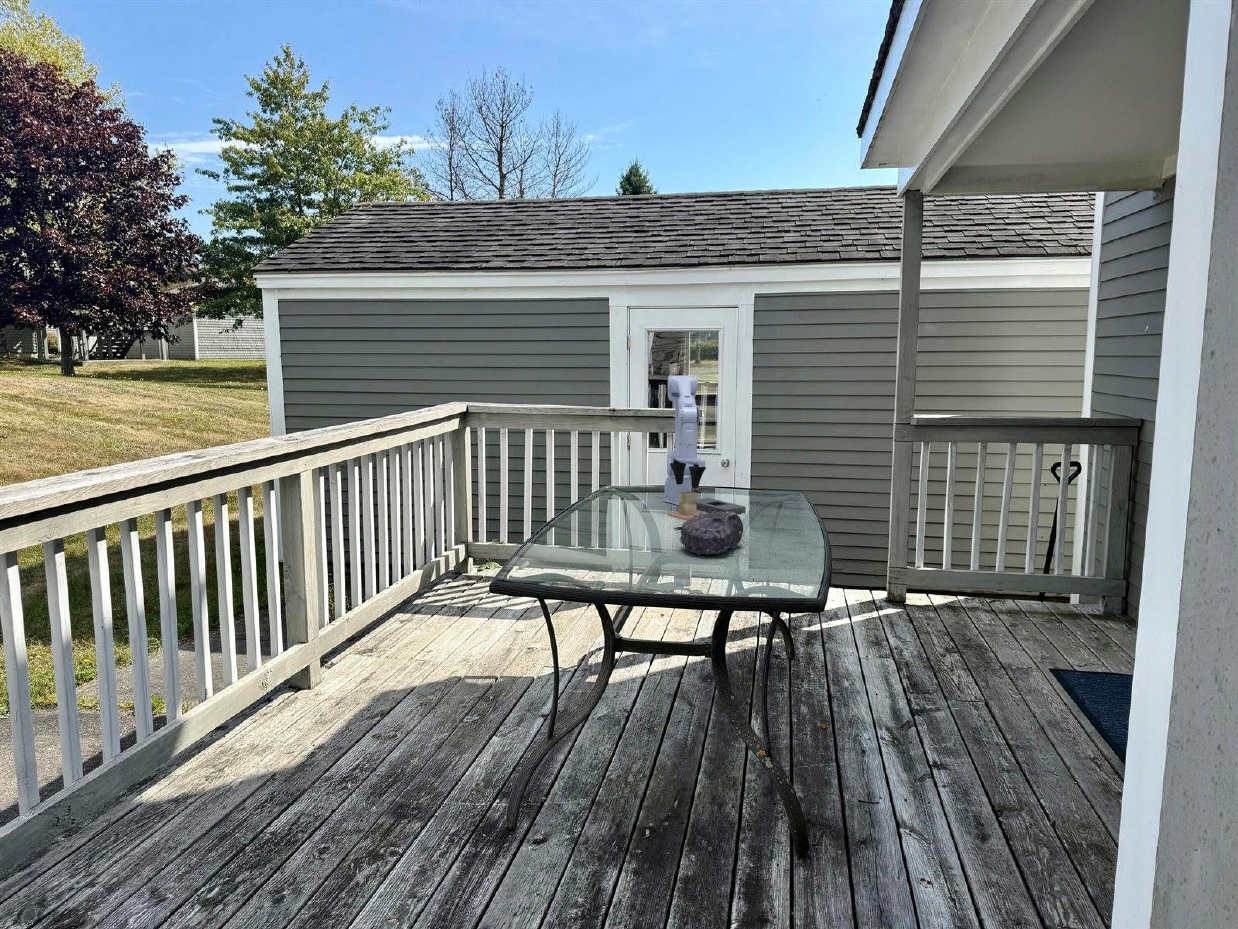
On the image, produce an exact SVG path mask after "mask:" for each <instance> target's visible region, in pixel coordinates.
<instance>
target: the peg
mask: <svg viewBox="0 0 1238 929" xmlns="http://www.w3.org/2000/svg"><path fill="white" fill-rule="evenodd" d="M697 494H698V493H697V492H694V491H692V490H691V491H685V492H679V505H678V511H679V514H682V515H686V516H688V515H695V514H696V512H697V509H696V501H697V499H698V498H697Z"/></svg>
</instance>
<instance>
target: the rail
mask: <svg viewBox="0 0 1238 929" xmlns="http://www.w3.org/2000/svg"><path fill="white" fill-rule="evenodd" d="M746 509H747V508H746V506H745V505H744V506H743V505H741V504H736V503H732V502H727V501H723V500H719V499H715V498H711V497H705V498H699V499H698V498H697V501H696V510H699V511H702V512H706V513H712V512H713V511H716V512H717V513H718V512H720V511H722V512H726V511H728V512H731V511H733V512H735V513H736V514H738V515H742V514H741V513H744V514H746Z"/></svg>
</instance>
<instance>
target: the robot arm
mask: <svg viewBox="0 0 1238 929" xmlns="http://www.w3.org/2000/svg"><path fill="white" fill-rule="evenodd" d="M697 390H698V377H697V376H696V375H695V374H692V375H672V374H669V375H668V376H667V397H668V400H669V401H670V402H672V403H673V406H674V436H675V437H674V440H675V441H674V445H675V446H674V449H673V450H672V451H670V452H669V453H668V455H667V460H666V474H667V476H668V477H667V478H666V479H665V481H664V491H663V492H664V495H663V496H664V498H663V499H662V502H665V503H669V504H673V505H677V506H679V492H685V491H691V492H692V489H699V485H700V482H701V479H702V476H703V475H704V472H705V471H706V469H707V466H706V460H704V459H701V458H698V426H699V424H700V415H701V413H700V412H701V411H700V407H699V406H698V405H697V404H696V403H697V402H696V397H697V396H696V395H697Z"/></svg>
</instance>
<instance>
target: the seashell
mask: <svg viewBox="0 0 1238 929" xmlns="http://www.w3.org/2000/svg"><path fill="white" fill-rule="evenodd" d="M699 513H700V514H699V516H697V515H695V516H693V518H691V519H689V520H685V521H684V522H683V523H682V525H681V529H680V535H681V536H680V538H679V539H678V540H679V541H680V544H682V545H684V548H685V549H686V550H688V551H689V552H690V553H693V554H694V553H695V554H696V555H697V556H702V555H705V556H710V555H714V554H715V555H716V554H720V553H725V552H726V551H727V550H729V549H728V548H733V549H735V548H736V547H737V546H738V544H740V542H741V540H742V537H743V534H744V523H743V520H742V519H741V517H740V516H739V514H738V515H737V514H736V513H735V512H733V511H731V512H728V511H726V512H722V511H720V512H718V513H717V512H716V511H713V512H712V513H709V512H706V513H703V512H699ZM734 547H735V548H734Z"/></svg>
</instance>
